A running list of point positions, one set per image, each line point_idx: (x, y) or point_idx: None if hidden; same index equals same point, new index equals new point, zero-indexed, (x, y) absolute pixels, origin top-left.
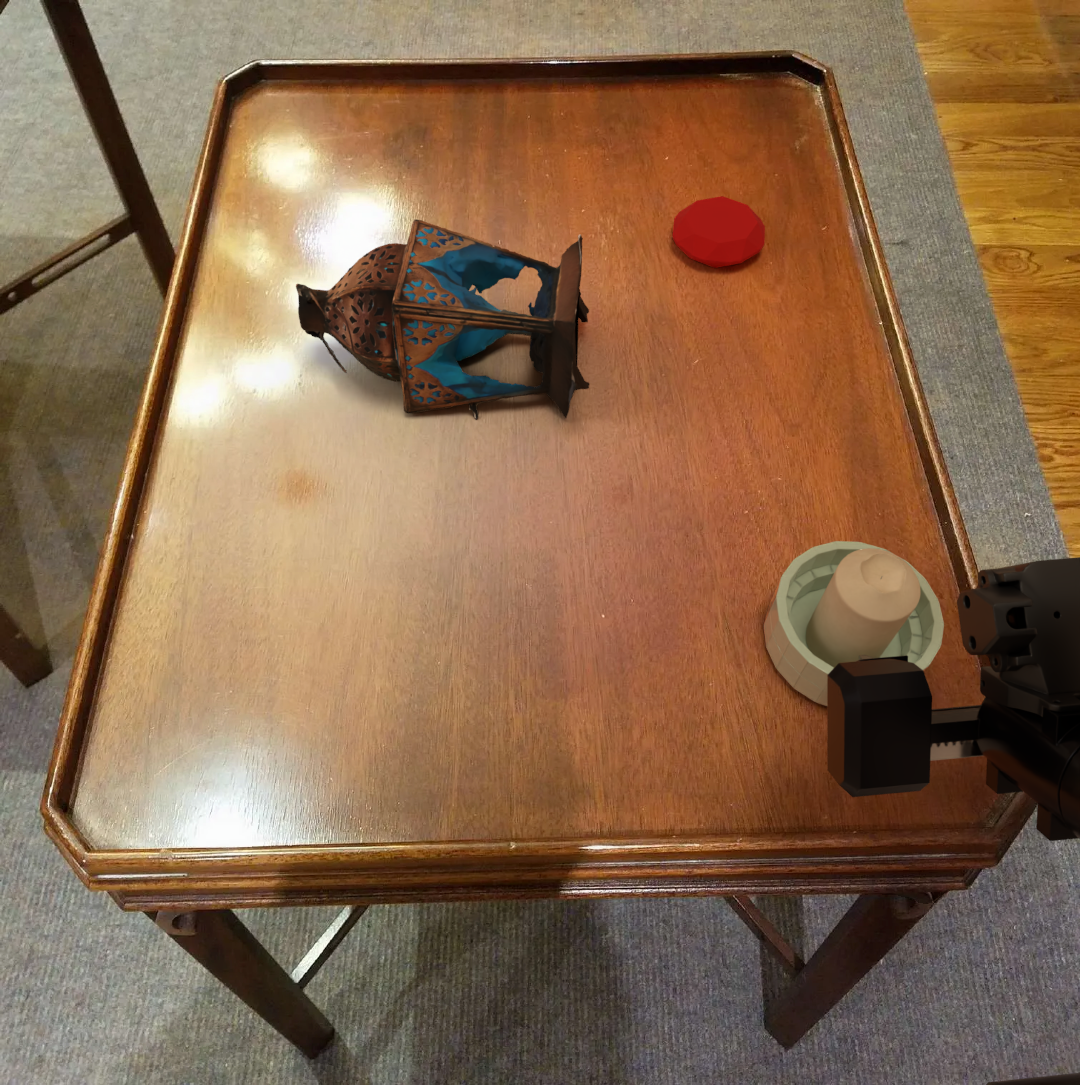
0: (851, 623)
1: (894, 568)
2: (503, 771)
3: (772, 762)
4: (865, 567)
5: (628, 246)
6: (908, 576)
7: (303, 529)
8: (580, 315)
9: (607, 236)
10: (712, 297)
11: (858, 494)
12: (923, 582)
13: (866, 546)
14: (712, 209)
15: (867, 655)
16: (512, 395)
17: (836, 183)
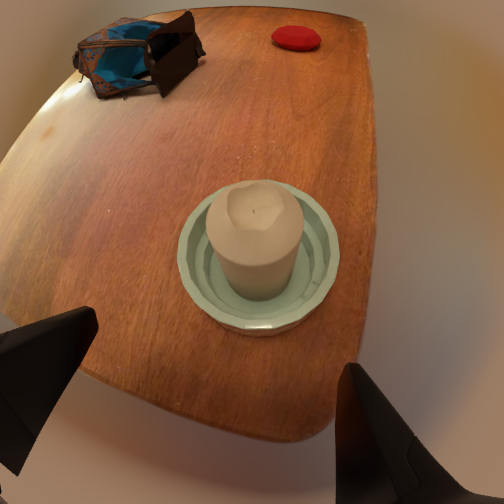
0: (217, 256)
1: (274, 204)
2: (28, 290)
3: (158, 350)
4: (241, 196)
5: (250, 40)
6: (284, 217)
7: (37, 150)
8: (196, 53)
9: (242, 37)
10: (282, 58)
11: (327, 163)
12: (332, 234)
13: (294, 190)
14: (294, 28)
15: (86, 310)
16: (138, 85)
17: (366, 42)
